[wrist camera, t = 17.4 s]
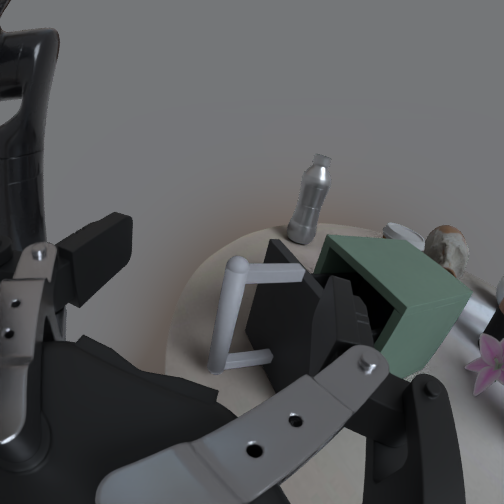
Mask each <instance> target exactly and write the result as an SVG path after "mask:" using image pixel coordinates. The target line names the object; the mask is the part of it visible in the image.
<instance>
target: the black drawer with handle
mask: <svg viewBox="0 0 504 504" xmlns="http://www.w3.org/2000/svg"><path fill="white" fill-rule="evenodd" d="M331 275H332V276H336V277H339V278H343V279H346V280H349V281H350V282H351V287H352V293H353V295H355V296H358V297H360V298H361V300H362V301H363V303H364V304H365V305H366V308H367V313H368V317H369V322H370V324H369V325H370V327H371V332H372V337H373V342H374V344H375V342H376V341H377V339H378V337H379V335H380V334H381V332H382V330H383V329H384V327H385V325H386V323H387V322H388V320H389V318H390V316H391V315H392V313H393V311H394V309H395V308H394V307H393V306H392V305H391V304H390V303H389V302H388V301H387V300H386V299H385V298H384V297H383V296H382V295H381V294H380V293H379V292H378V291H377V290H376V289H375V288H374V287H373V286H372V285H371V284H369V283H368V282H367V281H366V280H365V279H364V278H363V277H362V276H361V275H360V274H359V273H358V272H353V273H325V274H310V273H309V272H308V271H307V270H306V268H305V267H304V266H303V265H302V264H301V263H300V262H299V261H298V260H297V258H296V257H295V256H294V255H293V254H292V253H291V252H290V251H289V249H288V248H287V247H286V246H285V245H284V244H283V243H282V242H281V241H280V240H279V239H270V241H269V244H268V248H267V252H266V256H265V259H264V263H263V264H249V263H248V261H247V260H246V259H245V258H244V257H242V256H234V257H232V258H230V259H229V260H228V262H227V264H226V269H225V274H224V279H223V284H222V289H221V294H220V300H219V305H218V310H217V315H216V320H215V326H214V331H213V336H212V342H211V347H210V353H209V358H208V364H207V368H208V370H209V372H210V373H212V374H214V375H218V374H221V373H222V372H223V371H224V370H225V369H233V368H241V367H248V366H255V365H262V366H263V368H264V370H265V372H266V374H267V376H268V378H269V380H270V382H271V384H272V386H273V388H274V390H275V392H276V394H277V393H278V392H280V391H281V390H283V389H284V388H286V387H287V386H289V385H290V384H292V383H293V382H295V381H296V380H298V379H299V378H301V377H302V376H304V375H306V374H309V370H310V354H311V336H312V321H313V317H314V313H315V310H316V308H317V305H318V303H319V300H320V298H321V296H322V293H323V291H324V289H325V286H326V284H327V281H328V279H329V277H330V276H331ZM255 283H258V285H257V289H256V292H255V296H254V300H253V303H252V307H251V311H250V314H249V318H248V321H247V325H246V329H245V332H246V334H247V336H248V338H249V340H250V342H251V344H252V346H253V348H254V350H255V351H247V352H238V353H229V349H230V345H231V341H232V337H233V333H234V328H235V324H236V320H237V316H238V312H239V308H240V304H241V300H242V296H243V292H244V288H245V284H255ZM228 353H229V354H228Z"/></svg>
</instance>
